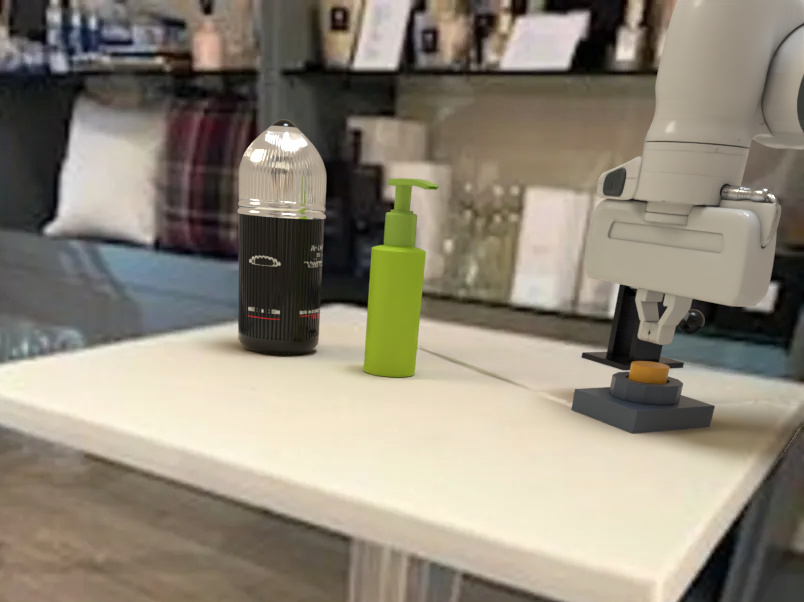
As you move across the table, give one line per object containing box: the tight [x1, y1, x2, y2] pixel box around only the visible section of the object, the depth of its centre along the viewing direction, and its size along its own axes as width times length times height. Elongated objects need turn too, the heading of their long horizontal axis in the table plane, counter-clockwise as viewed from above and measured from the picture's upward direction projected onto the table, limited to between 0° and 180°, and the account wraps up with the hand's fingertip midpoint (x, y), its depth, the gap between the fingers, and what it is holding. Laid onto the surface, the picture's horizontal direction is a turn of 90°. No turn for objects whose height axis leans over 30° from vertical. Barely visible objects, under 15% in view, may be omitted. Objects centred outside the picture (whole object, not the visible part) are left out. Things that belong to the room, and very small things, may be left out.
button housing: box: [570, 371, 716, 435], centre depth 86 cm, size 10×9×4 cm
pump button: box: [628, 361, 671, 384], centre depth 85 cm, size 4×4×2 cm
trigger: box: [630, 286, 706, 336], centre depth 111 cm, size 13×3×3 cm, turn 116°
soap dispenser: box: [363, 177, 440, 378], centre depth 95 cm, size 6×7×20 cm
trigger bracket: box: [581, 284, 685, 371], centre depth 110 cm, size 10×8×12 cm
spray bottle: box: [236, 118, 327, 356], centre depth 103 cm, size 10×10×25 cm
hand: (654, 342), depth 84 cm, fingers closed
